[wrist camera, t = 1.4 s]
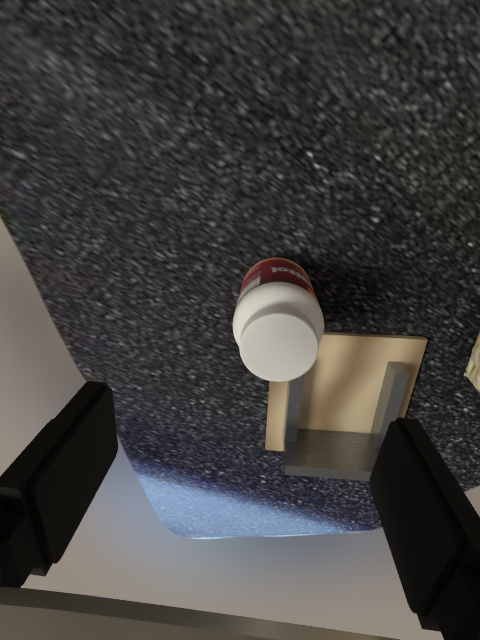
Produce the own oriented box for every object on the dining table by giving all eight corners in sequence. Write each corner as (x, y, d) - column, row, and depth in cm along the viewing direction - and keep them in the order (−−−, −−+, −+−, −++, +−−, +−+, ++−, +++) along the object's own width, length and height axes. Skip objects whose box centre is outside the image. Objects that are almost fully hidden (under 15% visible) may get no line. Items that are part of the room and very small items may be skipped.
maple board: (424, 336, 29) (427, 339, 29) (390, 454, 36) (391, 459, 35) (273, 329, 30) (273, 332, 30) (265, 445, 37) (265, 449, 36)
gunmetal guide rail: (401, 362, 30) (424, 395, 25) (379, 442, 34) (396, 483, 30) (290, 355, 31) (294, 387, 26) (282, 435, 35) (284, 474, 30)
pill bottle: (325, 284, 28) (356, 345, 18) (280, 332, 30) (285, 409, 20) (270, 240, 27) (272, 279, 17) (228, 294, 29) (207, 356, 19)
